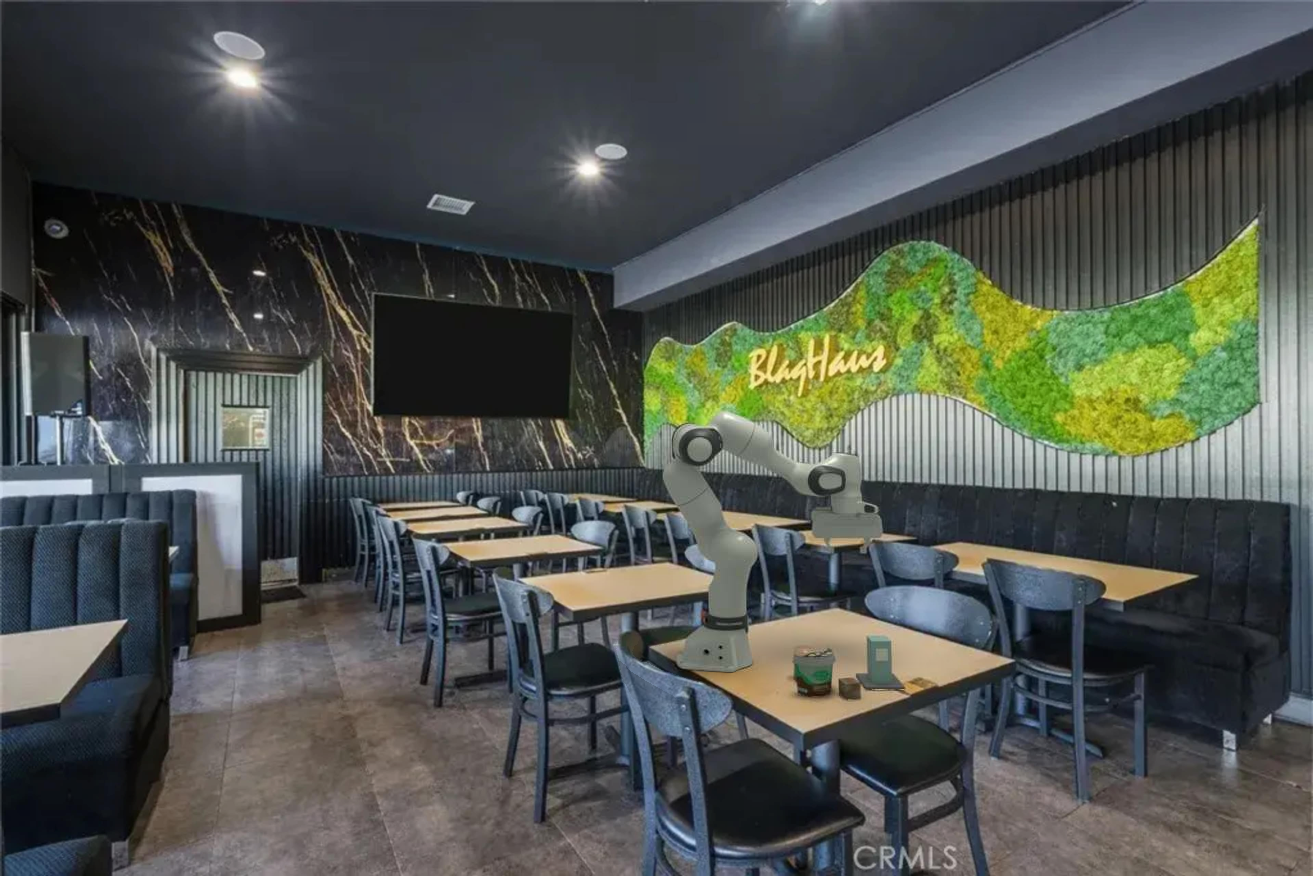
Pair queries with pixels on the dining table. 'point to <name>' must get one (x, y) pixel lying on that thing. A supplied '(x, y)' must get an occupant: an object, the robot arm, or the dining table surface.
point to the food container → (814, 673)
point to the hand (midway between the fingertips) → (847, 553)
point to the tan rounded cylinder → (802, 653)
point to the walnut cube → (849, 688)
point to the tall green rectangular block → (879, 660)
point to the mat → (869, 685)
